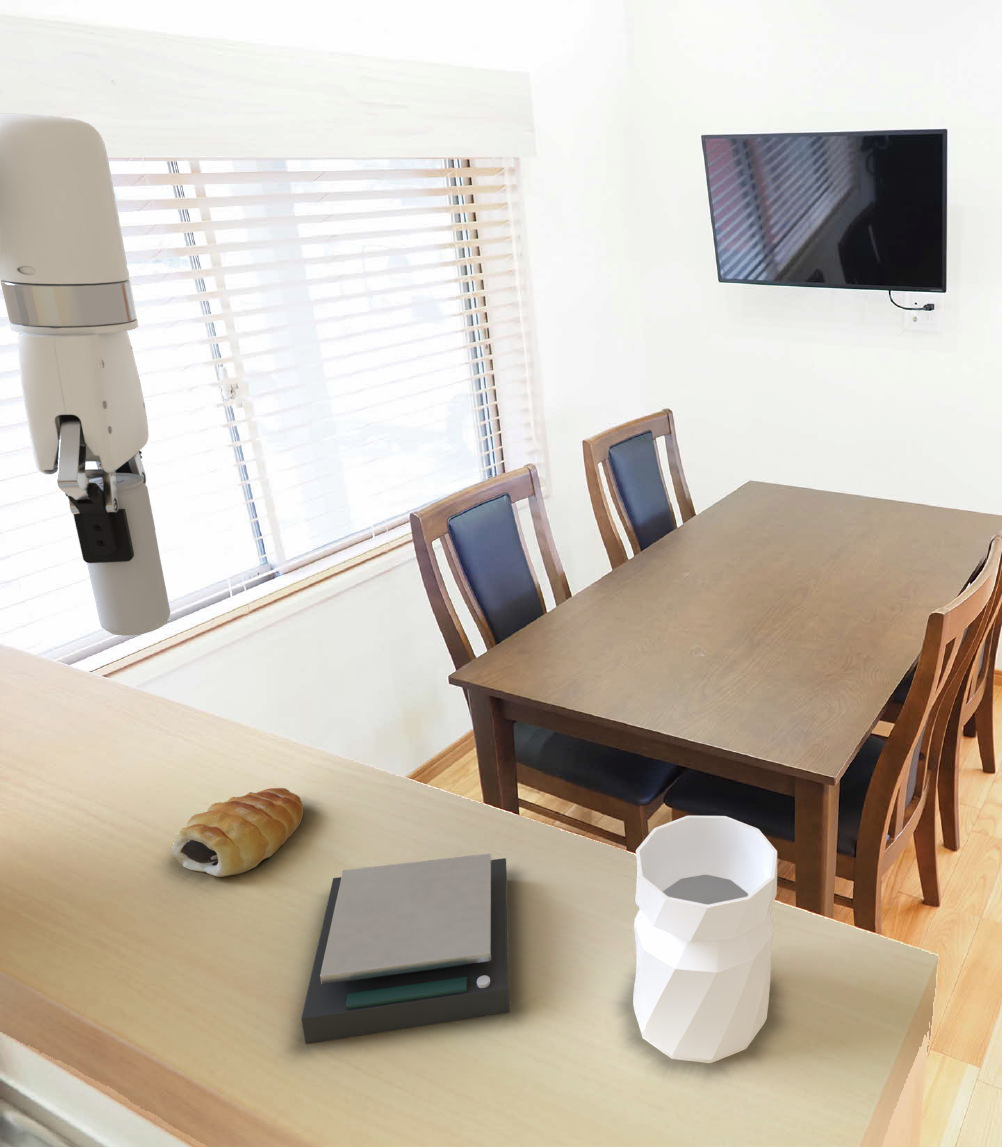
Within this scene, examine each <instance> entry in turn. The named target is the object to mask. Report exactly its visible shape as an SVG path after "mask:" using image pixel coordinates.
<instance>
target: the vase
mask: <svg viewBox="0 0 1002 1147" xmlns="http://www.w3.org/2000/svg"><path fill="white" fill-rule="evenodd" d="M635 858H636V868H637V870H636V872H637V873H636V885H635V886H636V887H635V896H634V903H635V904H636V905H637V907H638V908H639V909H638V912H637V914H636V915H635V918H634V920H633V931H634V940H635V941H634V942H635V954H636V962H635V963H636V964H635V977H634V978H635V979H634V986H633V995H632V1006H633V1011H634V1014H635V1018H636V1020H637V1024H638V1027H639V1031H640V1034H641V1037H642V1039H643V1040H645V1041H646V1042H647V1043H649V1044H650V1045H651V1046H653V1047H654V1048H656V1049H657V1050H659V1051H660V1052H661V1053H663V1054H664V1055H666V1056H667V1057H668V1058H669V1059H671V1060H679V1061H687V1062H696V1063H703V1064H712V1063H713V1064H714V1063H715V1062H717V1061H720V1060H723V1059H725V1058H727V1057H730V1056H733V1055H734V1054H735V1055H736V1054H737V1053H741V1052H742V1051H745V1050H747V1048H748V1047H749V1046H750V1044H751V1043H752V1042H753V1040H754V1039H755V1037H756V1036H757V1035H758V1033H759V1032H760V1030H761V1029H762V1028H763V1026H764V1025H765V1023H766V1021H767V1018H768V1009H769V1003H770V1002H769V1001H770V990H771V974H772V973H771V972H772V946H773V938H774V930H773V921H772V913H771V912H772V911H771V908H772V906H773V904H774V902H775V899H776V897H777V895H778V894H777V892H778V891H777V890H778V850H777V849H776V848H775V847H774V845H773V844H772V843H771V842H770V841H769V839H768V838H767V837H766V836H765V835H764V833H762V831H761V830H760V829H759V828H757V827H755V826H752V825H749V824H747V823H744V822H742V821H739V820H737V819H735V818H732V817H729V816H726V815H685V816H683V817H680V818H677V819H675V820H672V821H670V822H669V821H668V822H667V823H663V824H661V825H659V826H656V827H653V829H652V830H651V831H650V833H649V834H648V835H646V837H645V839H643V841H642V842H641V843H640V845H639V846H638V847H637V848H636V850H635Z"/></svg>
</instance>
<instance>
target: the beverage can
mask: <svg viewBox="0 0 1002 1147" xmlns="http://www.w3.org/2000/svg"><path fill="white" fill-rule="evenodd" d="M88 479H89V482H90V483H97V485H98V486H99V487H100V488H101V490H102V491H103V481H102V478H88ZM143 481H144V479H143V477H142V476H140V475H137V474H131V473H116V482H117V492H118V502H119V509H125V511H126V516H127V521H128V526H129V531H130V536H131V541H132V546H133V551H134V557H133V558H132V559H131V560H130V561H127V562H106V563H87V562H86V566H87V570H88V574H89V579H90V584H91V589H92V593H93V597H94V601H95V607H96V610H97V615H98V619H99V620H98V621H99V624H100V627H101V628H102V629H104V630H105V631H106V632H108V633H110V634H111V635H115V636H122V637H123V636H124V637H127V636H138V635H139V636H140V635H143V634H148V633H151V632H154V631H156V630H158V629H160V628H162V627H164V626H165V625H166V624H167V623H168V622H169V618H170V616H171V608H170V603H169V598H168V592H167V587H166V582H165V576H164V572H163V571H164V570H163V566H162V565H163V564H162V561H161V555H160V550H159V544H158V538H157V532H156V526H155V527H154V525H155V520H154V515H153V511H152V510H153V509H152V505H151V500H150V494H149V488H148V486H147V484H144V483H143ZM147 488H148V489H147ZM103 492H104V491H103ZM151 509H152V510H151ZM153 520H154V521H153Z"/></svg>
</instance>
